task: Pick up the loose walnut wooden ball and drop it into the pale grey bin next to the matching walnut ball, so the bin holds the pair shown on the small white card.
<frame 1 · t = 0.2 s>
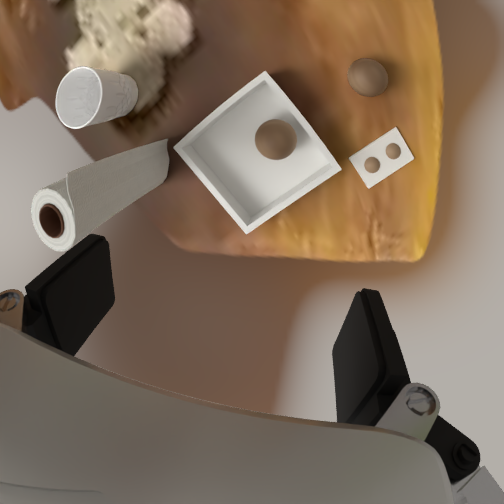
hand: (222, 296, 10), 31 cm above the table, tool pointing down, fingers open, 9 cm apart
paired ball: (275, 139, 33), point 3 cm above the table, touching bin
walnut ball: (367, 77, 29), point 2 cm above the table
white cup: (120, 95, 36), on the table
target card: (382, 157, 35), on the table
paper towel roll: (154, 165, 40), on the table
bin: (259, 150, 37), on the table
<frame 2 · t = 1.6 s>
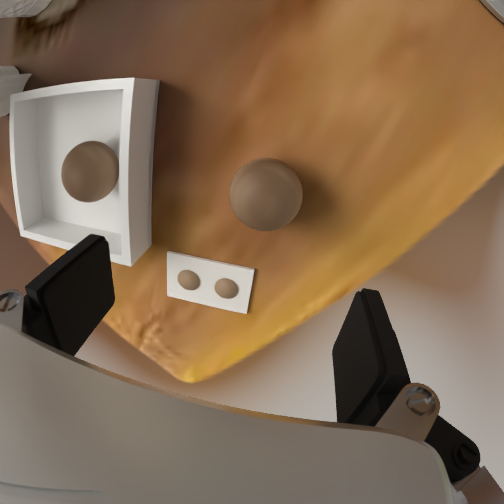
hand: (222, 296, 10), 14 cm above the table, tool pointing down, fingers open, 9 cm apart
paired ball: (90, 171, 20), point 3 cm above the table, touching bin
walnut ball: (266, 194, 20), point 2 cm above the table
target card: (208, 282, 27), on the table
paper towel roll: (11, 91, 20), on the table
bin: (85, 160, 23), on the table
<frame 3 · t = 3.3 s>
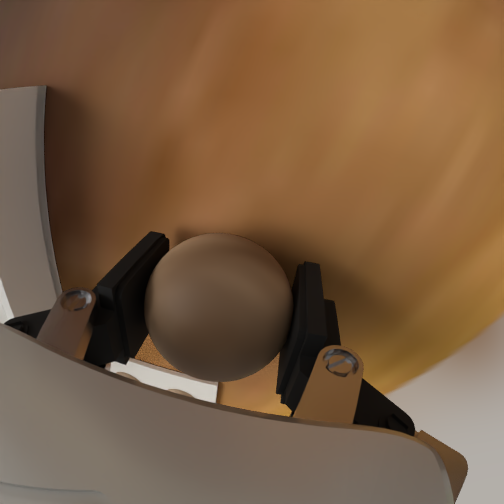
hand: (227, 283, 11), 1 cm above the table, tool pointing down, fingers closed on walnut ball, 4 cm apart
walnut ball: (218, 307, 10), point 2 cm above the table, touching gripper
target card: (155, 388, 17), on the table
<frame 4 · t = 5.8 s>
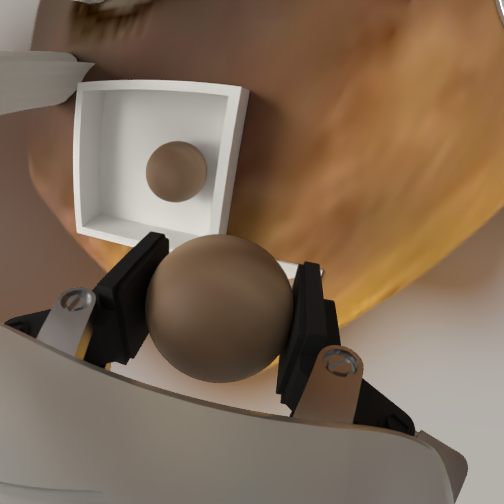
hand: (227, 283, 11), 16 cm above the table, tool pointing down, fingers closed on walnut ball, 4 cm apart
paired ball: (176, 171, 23), point 3 cm above the table, touching bin
walnut ball: (219, 309, 10), point 17 cm above the table, touching gripper
paper towel roll: (65, 79, 22), on the table
bin: (159, 159, 25), on the table
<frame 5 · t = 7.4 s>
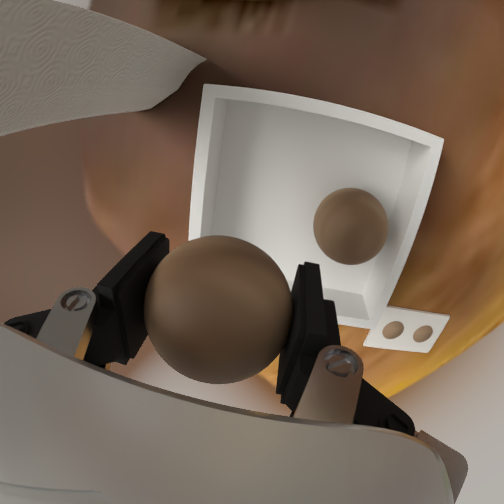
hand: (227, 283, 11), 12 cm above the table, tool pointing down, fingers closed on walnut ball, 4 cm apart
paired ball: (351, 226, 18), point 3 cm above the table, touching bin
walnut ball: (218, 310, 10), point 13 cm above the table, touching gripper
target card: (407, 330, 25), on the table
paper towel roll: (150, 76, 19), on the table
bin: (305, 202, 21), on the table
when the fingers open (7 cm above the table, at t = 8.6 s): walnut ball drops 5 cm, resting on bin.
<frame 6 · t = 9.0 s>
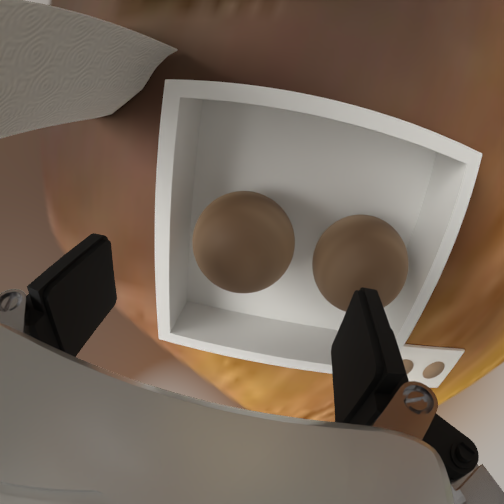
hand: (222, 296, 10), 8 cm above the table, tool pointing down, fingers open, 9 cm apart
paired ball: (360, 264, 14), point 3 cm above the table, touching bin
walnut ball: (243, 242, 15), point 3 cm above the table, touching bin
target card: (417, 366, 21), on the table
paper towel roll: (112, 75, 14), on the table
bin: (302, 228, 17), on the table
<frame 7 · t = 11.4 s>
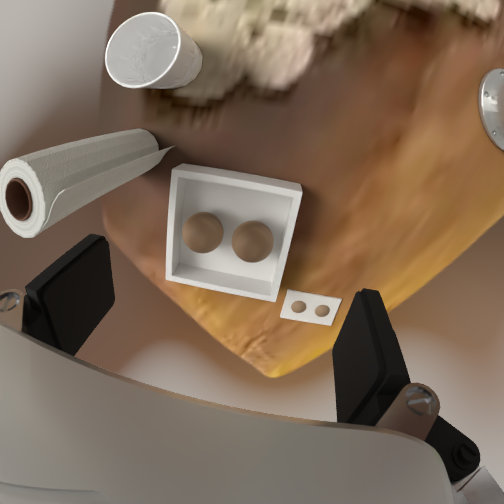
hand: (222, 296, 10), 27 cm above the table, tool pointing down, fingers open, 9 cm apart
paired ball: (252, 241, 35), point 3 cm above the table, touching bin
walnut ball: (202, 232, 35), point 3 cm above the table, touching bin
white cup: (176, 63, 30), on the table
target card: (310, 307, 42), on the table
paper towel roll: (143, 152, 35), on the table
bin: (231, 227, 38), on the table
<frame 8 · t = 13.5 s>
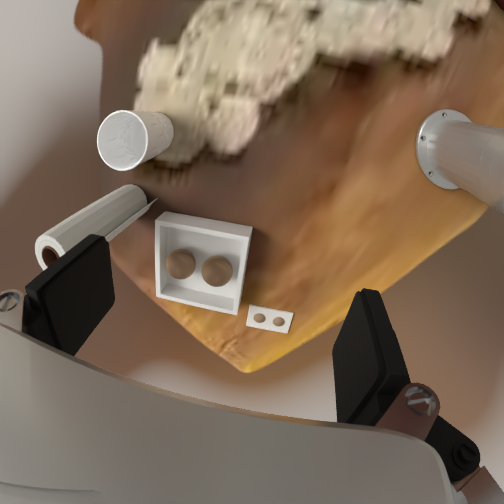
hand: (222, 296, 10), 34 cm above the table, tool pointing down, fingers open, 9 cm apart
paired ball: (216, 271, 47), point 3 cm above the table, touching bin
walnut ball: (180, 264, 47), point 3 cm above the table, touching bin
white cup: (155, 132, 41), on the table
target card: (269, 318, 54), on the table
paper towel roll: (135, 201, 47), on the table
bin: (204, 258, 50), on the table
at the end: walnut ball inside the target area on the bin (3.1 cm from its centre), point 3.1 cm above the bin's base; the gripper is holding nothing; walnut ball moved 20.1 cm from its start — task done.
